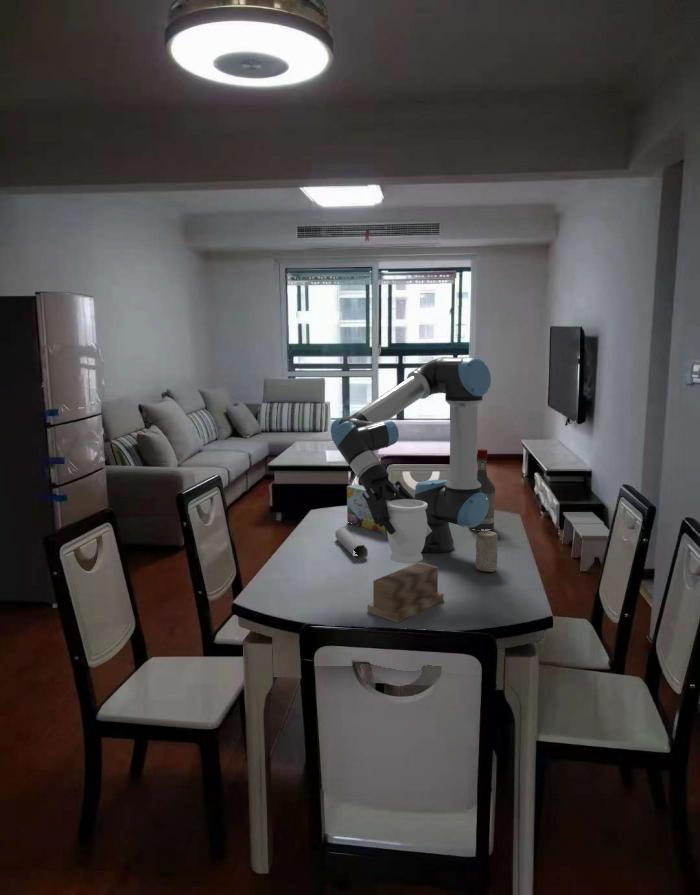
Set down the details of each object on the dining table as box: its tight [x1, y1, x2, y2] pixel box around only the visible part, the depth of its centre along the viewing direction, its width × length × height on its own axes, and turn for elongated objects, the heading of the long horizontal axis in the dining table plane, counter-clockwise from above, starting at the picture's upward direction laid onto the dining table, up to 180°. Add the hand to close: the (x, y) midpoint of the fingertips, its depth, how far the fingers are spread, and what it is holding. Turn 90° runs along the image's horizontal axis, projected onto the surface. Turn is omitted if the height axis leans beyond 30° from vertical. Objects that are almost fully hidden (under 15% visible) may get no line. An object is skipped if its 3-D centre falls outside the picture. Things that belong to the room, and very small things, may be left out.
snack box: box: [346, 483, 390, 535], centre depth 253 cm, size 21×6×15 cm, turn 42°
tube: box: [335, 527, 369, 561], centre depth 227 cm, size 5×5×25 cm
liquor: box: [468, 448, 496, 530], centre depth 251 cm, size 9×9×30 cm
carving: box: [475, 530, 499, 573], centre depth 204 cm, size 6×8×12 cm
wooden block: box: [367, 561, 445, 623], centre depth 176 cm, size 20×10×9 cm, turn 138°
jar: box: [387, 499, 428, 564], centre depth 174 cm, size 11×10×15 cm
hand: (415, 538), depth 172 cm, fingers closed on jar, 10 cm apart
